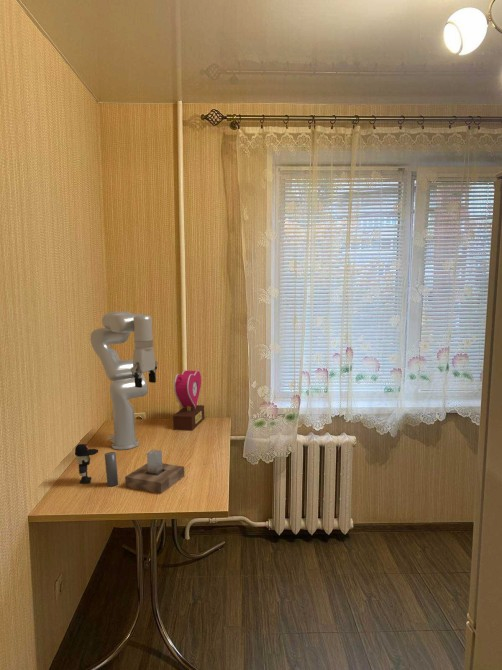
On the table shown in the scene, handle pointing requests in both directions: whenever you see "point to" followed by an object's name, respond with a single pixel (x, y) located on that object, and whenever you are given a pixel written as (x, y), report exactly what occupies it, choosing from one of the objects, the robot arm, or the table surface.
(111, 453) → the round bit
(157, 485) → the bore block
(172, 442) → the table surface
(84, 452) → the toy
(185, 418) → the decorative clock
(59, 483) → the table surface
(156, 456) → the square bit
